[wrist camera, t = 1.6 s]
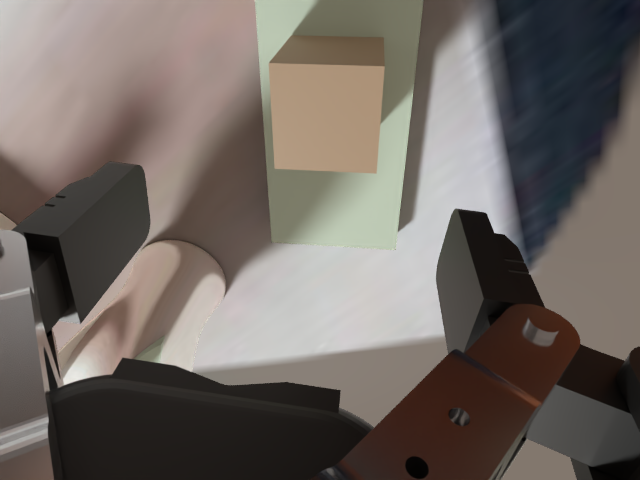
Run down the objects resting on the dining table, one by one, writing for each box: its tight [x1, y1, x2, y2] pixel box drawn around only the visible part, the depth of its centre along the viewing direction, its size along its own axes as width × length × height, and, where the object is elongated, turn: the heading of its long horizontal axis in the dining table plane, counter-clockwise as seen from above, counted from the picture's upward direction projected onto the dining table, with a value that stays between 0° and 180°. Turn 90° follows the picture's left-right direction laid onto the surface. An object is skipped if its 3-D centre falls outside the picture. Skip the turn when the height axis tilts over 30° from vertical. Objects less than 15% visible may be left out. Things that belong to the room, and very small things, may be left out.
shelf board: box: [255, 0, 424, 250], centre depth 20 cm, size 18×7×7 cm, turn 0°
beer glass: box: [58, 240, 226, 385], centre depth 25 cm, size 7×7×15 cm
